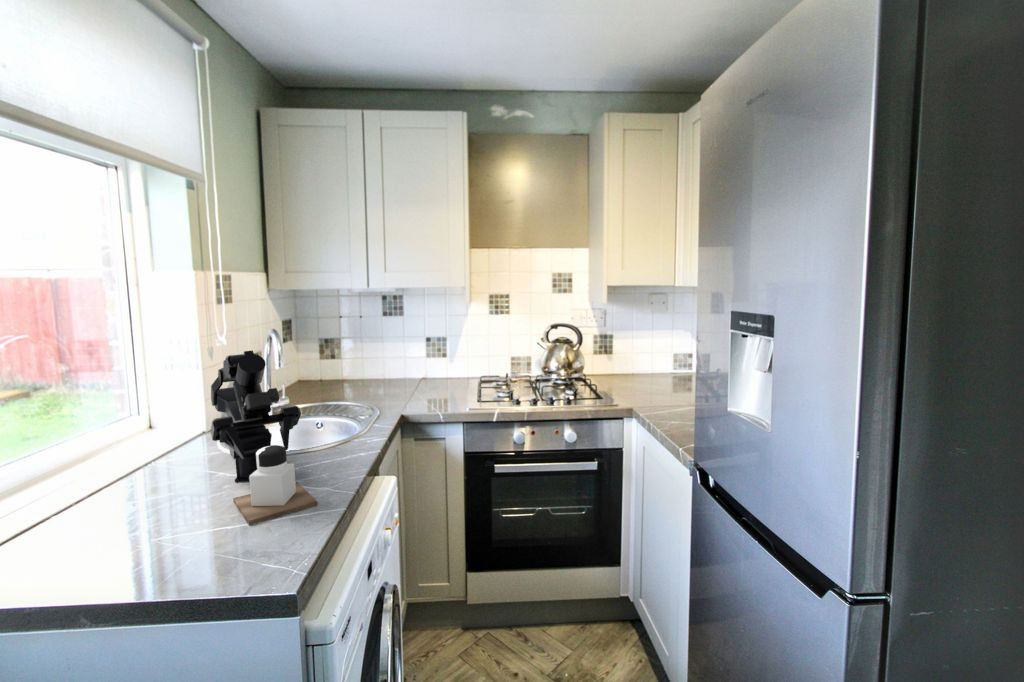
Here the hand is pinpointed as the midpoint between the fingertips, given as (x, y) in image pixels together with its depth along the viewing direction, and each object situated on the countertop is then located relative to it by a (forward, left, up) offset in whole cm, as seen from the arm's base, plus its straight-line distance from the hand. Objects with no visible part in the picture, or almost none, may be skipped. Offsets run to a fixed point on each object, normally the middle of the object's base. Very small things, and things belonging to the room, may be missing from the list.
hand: (266, 453), depth 119 cm
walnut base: (+2, -4, -10) cm, 11 cm away
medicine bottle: (+2, -4, -10) cm, 11 cm away
